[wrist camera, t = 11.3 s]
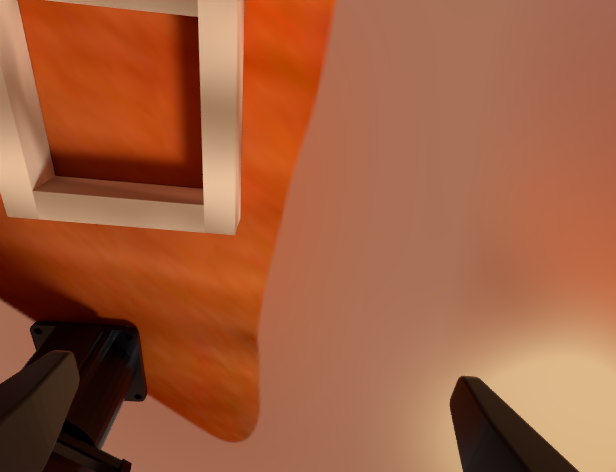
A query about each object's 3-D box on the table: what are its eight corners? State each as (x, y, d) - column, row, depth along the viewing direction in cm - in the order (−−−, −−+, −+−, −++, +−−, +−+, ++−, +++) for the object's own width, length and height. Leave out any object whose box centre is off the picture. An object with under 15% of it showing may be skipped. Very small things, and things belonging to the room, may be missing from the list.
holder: (240, 217, 22) (234, 235, 20) (32, 200, 21) (7, 216, 19) (244, -21, 17) (237, -25, 15) (-33, -53, 16) (-74, -61, 14)
